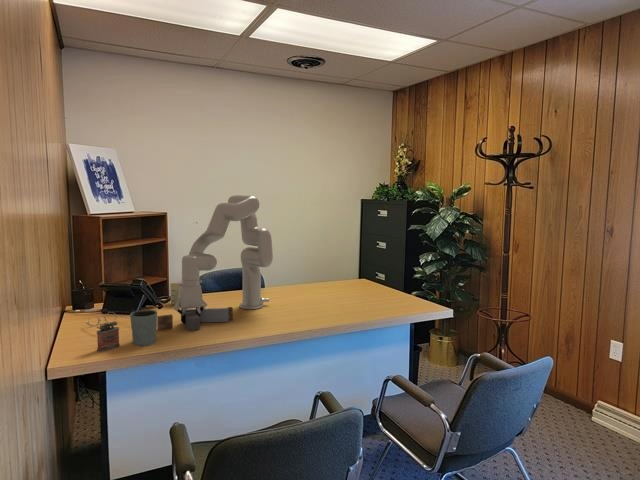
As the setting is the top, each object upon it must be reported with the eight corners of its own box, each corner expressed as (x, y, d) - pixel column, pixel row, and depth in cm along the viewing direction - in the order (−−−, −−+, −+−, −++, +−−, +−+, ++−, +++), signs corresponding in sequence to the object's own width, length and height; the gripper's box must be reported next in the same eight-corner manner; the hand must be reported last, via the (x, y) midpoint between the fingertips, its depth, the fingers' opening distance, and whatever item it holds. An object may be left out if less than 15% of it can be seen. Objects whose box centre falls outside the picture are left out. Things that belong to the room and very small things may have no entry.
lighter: (99, 352, 159) (98, 326, 158) (95, 349, 162) (94, 324, 160) (121, 346, 165) (120, 321, 164) (117, 344, 167) (116, 319, 166)
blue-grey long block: (228, 319, 201) (228, 307, 201) (228, 321, 199) (228, 309, 198) (183, 321, 198) (183, 308, 197) (182, 322, 195) (182, 310, 194)
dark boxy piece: (195, 323, 196) (195, 311, 195) (199, 329, 187) (199, 317, 186) (183, 324, 194) (183, 312, 193) (188, 331, 185) (188, 318, 184)
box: (193, 303, 230) (193, 281, 229) (189, 305, 225) (189, 283, 223) (175, 302, 231) (174, 280, 230) (170, 304, 226) (170, 282, 224)
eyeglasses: (118, 320, 199) (117, 309, 198) (141, 328, 188) (141, 317, 188) (83, 329, 186) (82, 317, 185) (106, 338, 175) (106, 326, 175)
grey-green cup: (145, 348, 164) (144, 317, 163) (124, 344, 168) (123, 314, 167) (163, 339, 174) (162, 311, 173) (143, 336, 177) (142, 308, 176)
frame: (231, 319, 204) (231, 306, 203) (232, 320, 202) (232, 307, 201) (157, 329, 186) (157, 316, 186) (158, 330, 185) (158, 317, 184)
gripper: (207, 280, 198) (206, 318, 200) (168, 282, 189) (168, 322, 191) (212, 283, 192) (211, 322, 194) (172, 286, 183) (172, 327, 185)
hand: (190, 322), depth 192 cm, fingers closed on dark boxy piece, 5 cm apart
